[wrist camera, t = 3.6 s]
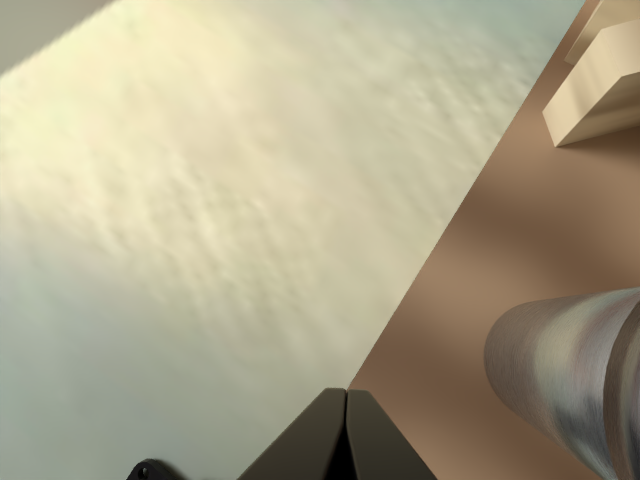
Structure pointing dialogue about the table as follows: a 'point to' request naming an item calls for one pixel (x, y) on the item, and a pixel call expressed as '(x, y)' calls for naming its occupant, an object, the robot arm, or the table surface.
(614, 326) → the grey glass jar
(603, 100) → the v block
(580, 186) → the board
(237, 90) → the table surface
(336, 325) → the table surface
